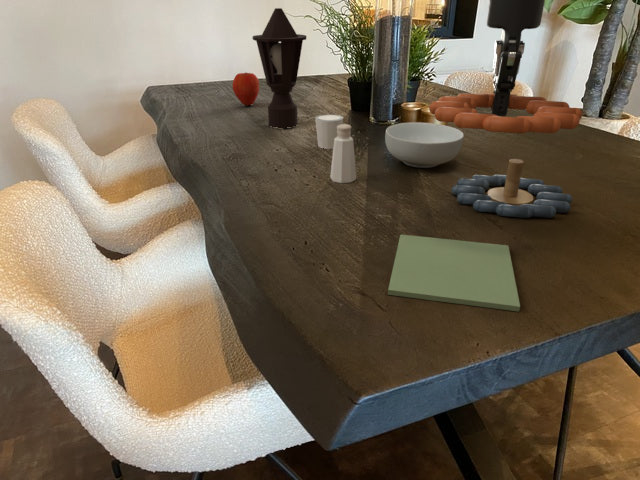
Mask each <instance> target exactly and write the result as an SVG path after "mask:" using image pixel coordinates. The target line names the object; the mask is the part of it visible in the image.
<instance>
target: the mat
mask: <svg viewBox="0 0 640 480" xmlns="http://www.w3.org/2000/svg"><path fill="white" fill-rule="evenodd" d="M387 295H388V296H396V297H403V298H409V299H410V298H411V299H418V300H424V301H425V300H427V301H432V302H433V301H434V302H440V303H441V302H442V303H448V304H457V305H465V306H472V307H480V308H485V309H486V308H487V309H495V310H502V311H512V312H518V313H519V312H520V310H521V303H520V297H519V293H518V288H517V281H516V278H515V272H514V267H513V262H512V257H511V252H510V247H509V244H507V245H506V244H497V243H487V242H478V241H468V240H459V239H449V238H439V237H429V236H420V235H411V234H400V235H399V240H398V243H397V248H396V252H395V257H394V261H393V265H392V271H391V275H390V280H389V284H388V289H387Z"/></svg>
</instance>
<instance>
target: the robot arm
mask: <svg viewBox="0 0 640 480" xmlns="http://www.w3.org/2000/svg"><path fill="white" fill-rule="evenodd" d="M545 2H546V0H488V7H487V15H486V22H485V23H486V26H487V27H488V28H489V29H490V28H491V29H497V30H498V29H501V36H500V40H498V39H497V40H495V42H494V48H493V50H494V58H493V63H492V65H493V66H492V69H493V70H492V71H493V75H492V79H493V81H492V84H493V92H492V94H495V95H494V101H493V107H490V110H491V114H494V115H497V116H500V117H507V115H508V109H509V108H508V104H509V99H510V94H511V93H512V91H513V90H515V88H516V82H517V81H516V79H517V76H518V74H519V73H520V66H521V59H522V57H523V55H524V52H525V46H526V42H524V40H522V33H523V31H524V30H535V29H538V28H539V27H540V26H541V23H542V18H543V13H544V8H545V4H546V3H545Z"/></svg>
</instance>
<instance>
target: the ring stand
mask: <svg viewBox="0 0 640 480" xmlns="http://www.w3.org/2000/svg"><path fill="white" fill-rule="evenodd" d="M508 160H509V161H508V165H507V171H506V175H507V176H506V182H505V186H499V187H493V188H490V189H488V191H487V193H486V195H489V196H490V197H491V199H492V201H496V202H505V203H507V204H508V205H516V206H520V205H522V204H531V205H533V203H534V195H532V194H530V193H529V192H528V191H526V190H525V189H519V184H520V179H521V178H522V173H523V169H524V168H523V167H524V164H525V162H524V160H523V159H519V158H510V159H508Z"/></svg>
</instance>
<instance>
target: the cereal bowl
mask: <svg viewBox="0 0 640 480" xmlns="http://www.w3.org/2000/svg"><path fill="white" fill-rule="evenodd" d="M384 135H385V136H384V140H385V146H386V149H387V151H388V152H389V154H390V155H391V156H392V157H393V158H395V159H397V160H399V161H401V162H402V163H403V164H405V165H407V166H409V167H413V168H419V169H431V168H435V167H437V166H439V165H441V164H442V165H443V164H446V163H447V162H448V163H449V162H450V161H453V160H454V159H455V158H456V157H457V156H458V155H459V153H460V152H461V150H462V147H463V143H464V137H465V135H464V133H463V131H462V130H460V129H458V128H455V127H453V126H448V125H444V124H441V123H440V124H439V123H432V122H416V121H415V122H413V121H412V122H411V121H410V122H401V123H395V124H391V125H390V126H388V127H387V128H386V130H385V134H384Z"/></svg>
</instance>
